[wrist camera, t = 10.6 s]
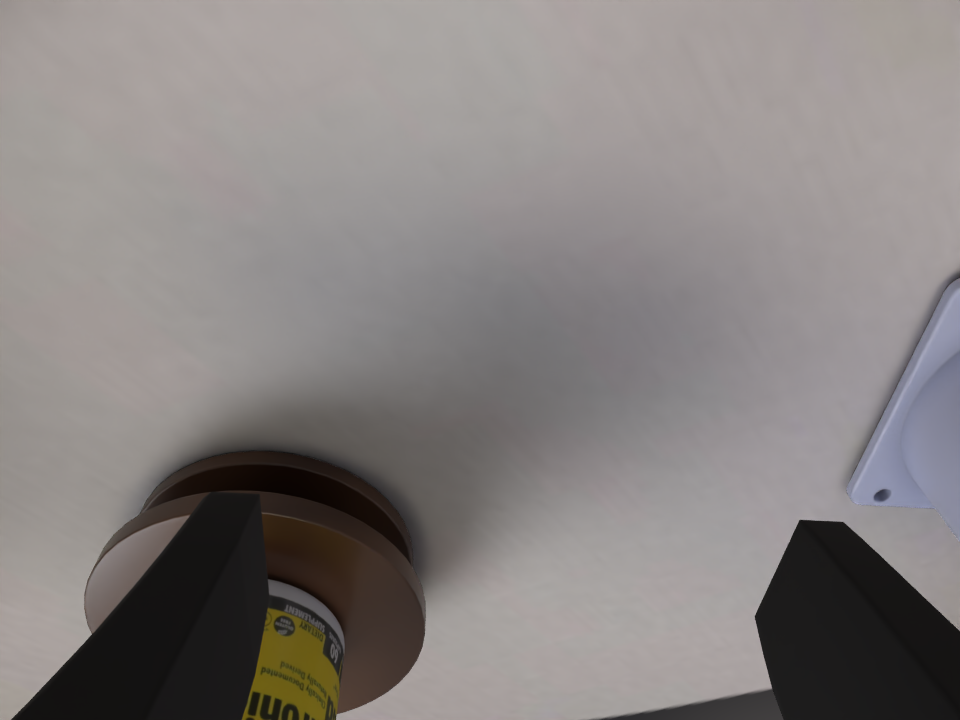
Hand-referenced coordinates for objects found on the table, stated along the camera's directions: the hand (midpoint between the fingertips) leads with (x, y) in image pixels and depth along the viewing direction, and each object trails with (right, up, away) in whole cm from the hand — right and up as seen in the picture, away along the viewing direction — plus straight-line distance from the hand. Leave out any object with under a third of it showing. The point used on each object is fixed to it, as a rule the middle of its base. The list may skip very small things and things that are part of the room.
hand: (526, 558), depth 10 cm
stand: (-7, -4, +15) cm, 17 cm away
